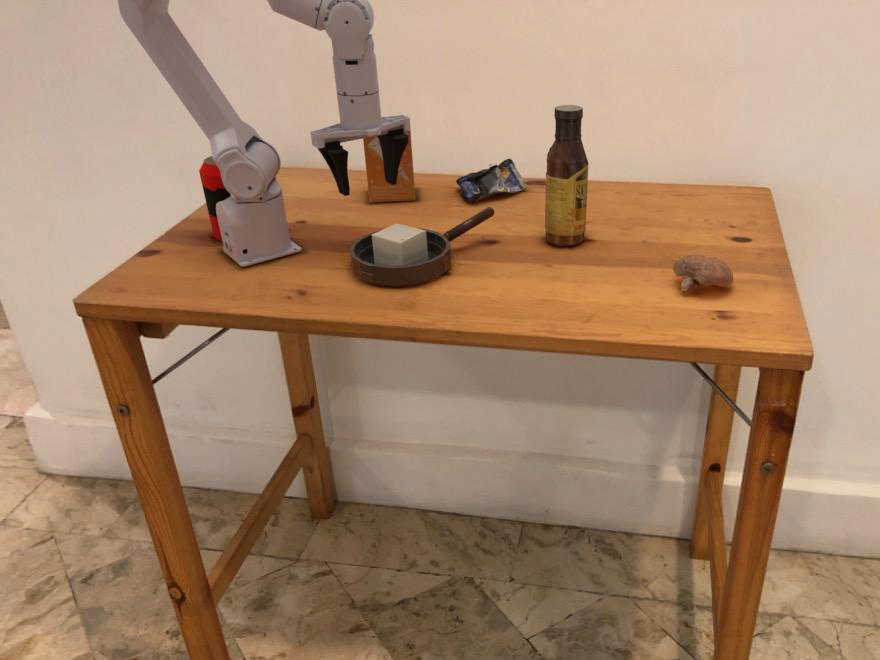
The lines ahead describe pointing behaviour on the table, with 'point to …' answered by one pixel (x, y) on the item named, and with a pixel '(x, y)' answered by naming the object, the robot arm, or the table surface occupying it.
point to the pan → (401, 274)
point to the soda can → (213, 191)
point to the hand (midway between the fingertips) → (368, 188)
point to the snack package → (491, 181)
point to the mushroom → (702, 272)
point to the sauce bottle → (566, 180)
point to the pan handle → (469, 224)
